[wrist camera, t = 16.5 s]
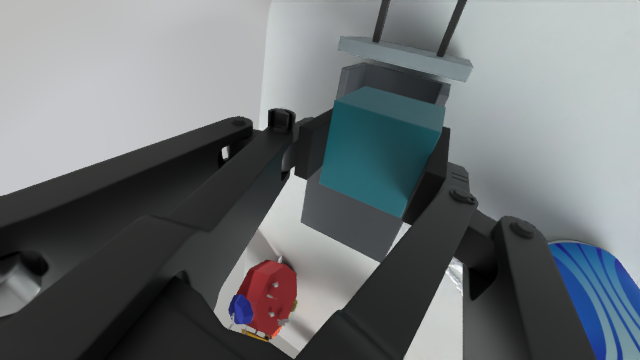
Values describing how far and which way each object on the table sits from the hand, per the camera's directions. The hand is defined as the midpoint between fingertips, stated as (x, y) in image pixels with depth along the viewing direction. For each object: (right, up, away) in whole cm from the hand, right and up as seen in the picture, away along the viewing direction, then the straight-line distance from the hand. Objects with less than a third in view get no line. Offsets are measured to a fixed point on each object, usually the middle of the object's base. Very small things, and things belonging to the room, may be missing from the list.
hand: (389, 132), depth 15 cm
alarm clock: (-12, -26, +44) cm, 53 cm away
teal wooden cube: (0, 0, 0) cm, 0 cm away
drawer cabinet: (+3, -2, +20) cm, 20 cm away
